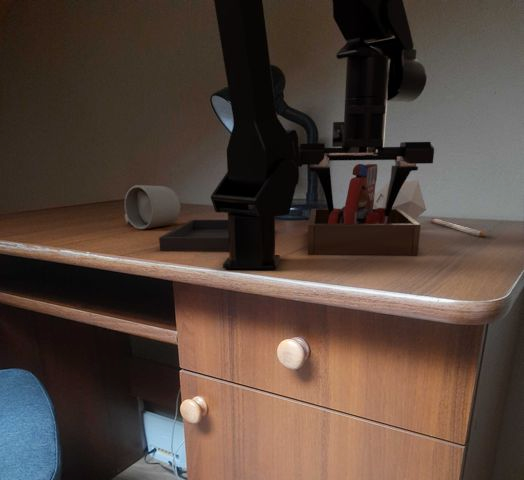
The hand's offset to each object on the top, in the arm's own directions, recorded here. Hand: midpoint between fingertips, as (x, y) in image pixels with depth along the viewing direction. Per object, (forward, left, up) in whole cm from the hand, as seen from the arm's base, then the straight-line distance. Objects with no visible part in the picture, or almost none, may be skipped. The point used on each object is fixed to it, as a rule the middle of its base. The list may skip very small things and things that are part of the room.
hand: (359, 216), depth 73 cm
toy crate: (0, 0, -4) cm, 4 cm away
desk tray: (+2, +22, -4) cm, 22 cm away
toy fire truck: (0, 0, -3) cm, 3 cm away
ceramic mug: (+16, +38, -4) cm, 41 cm away
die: (+17, -8, -4) cm, 19 cm away
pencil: (+14, -18, -4) cm, 23 cm away
